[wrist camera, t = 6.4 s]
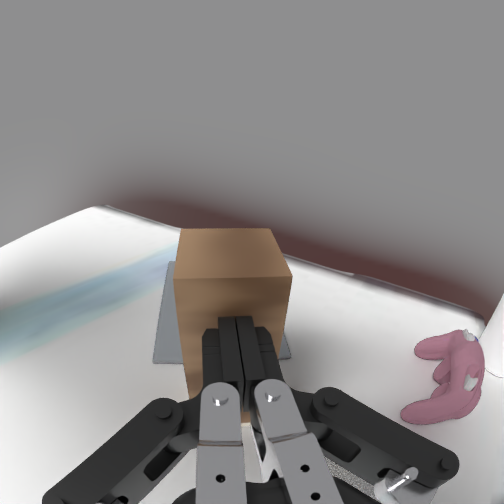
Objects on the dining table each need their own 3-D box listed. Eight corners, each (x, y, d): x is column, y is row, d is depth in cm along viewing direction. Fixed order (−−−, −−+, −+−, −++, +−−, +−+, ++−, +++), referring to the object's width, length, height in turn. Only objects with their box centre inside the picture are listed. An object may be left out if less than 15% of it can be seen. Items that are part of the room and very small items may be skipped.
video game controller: (423, 443, 17) (493, 410, 13) (393, 419, 18) (467, 380, 14) (435, 368, 25) (486, 332, 20) (411, 344, 25) (462, 304, 21)
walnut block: (195, 428, 18) (172, 278, 12) (194, 376, 22) (181, 229, 16) (264, 424, 18) (292, 276, 12) (254, 374, 23) (269, 228, 17)
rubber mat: (290, 358, 25) (291, 355, 25) (153, 363, 23) (152, 361, 23) (259, 262, 39) (259, 260, 39) (169, 263, 38) (169, 261, 37)
